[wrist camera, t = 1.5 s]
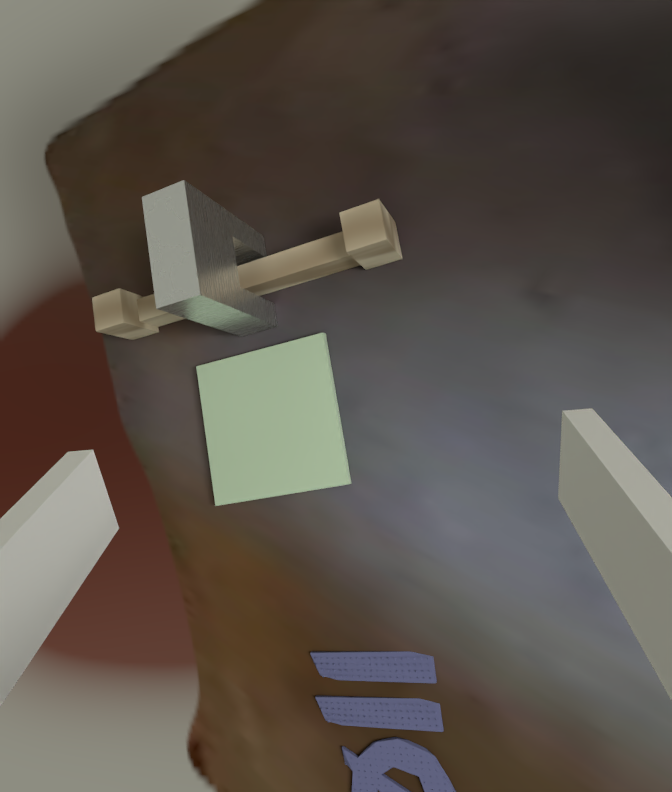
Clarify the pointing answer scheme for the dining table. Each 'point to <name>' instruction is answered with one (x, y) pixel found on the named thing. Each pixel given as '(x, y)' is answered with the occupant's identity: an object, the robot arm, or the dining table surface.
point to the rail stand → (270, 270)
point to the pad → (273, 422)
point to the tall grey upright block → (203, 261)
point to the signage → (385, 717)
